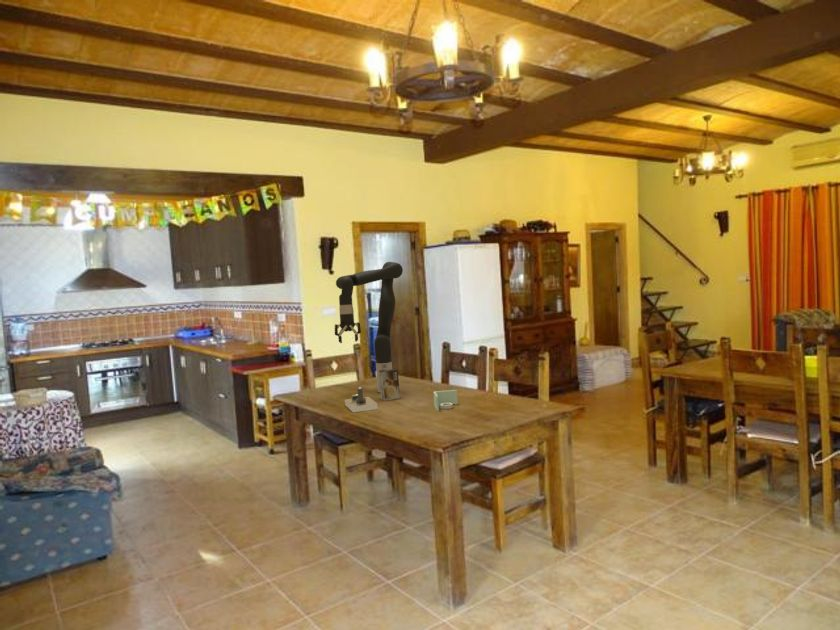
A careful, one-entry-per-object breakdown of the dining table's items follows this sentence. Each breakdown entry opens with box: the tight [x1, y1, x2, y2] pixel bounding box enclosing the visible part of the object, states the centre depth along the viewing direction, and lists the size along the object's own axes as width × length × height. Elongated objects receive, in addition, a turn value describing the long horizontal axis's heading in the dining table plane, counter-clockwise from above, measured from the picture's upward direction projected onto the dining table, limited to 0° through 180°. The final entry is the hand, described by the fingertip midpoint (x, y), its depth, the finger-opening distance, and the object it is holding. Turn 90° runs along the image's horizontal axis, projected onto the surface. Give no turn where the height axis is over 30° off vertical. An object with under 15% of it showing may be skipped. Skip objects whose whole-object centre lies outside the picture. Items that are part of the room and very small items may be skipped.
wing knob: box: [356, 385, 366, 403], centre depth 312 cm, size 8×5×8 cm, turn 4°
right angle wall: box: [433, 389, 459, 412], centre depth 302 cm, size 12×12×8 cm
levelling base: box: [344, 393, 378, 413], centre depth 314 cm, size 13×18×6 cm
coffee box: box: [379, 368, 401, 402], centre depth 329 cm, size 9×6×16 cm
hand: (348, 342), depth 330 cm, fingers open, 8 cm apart
